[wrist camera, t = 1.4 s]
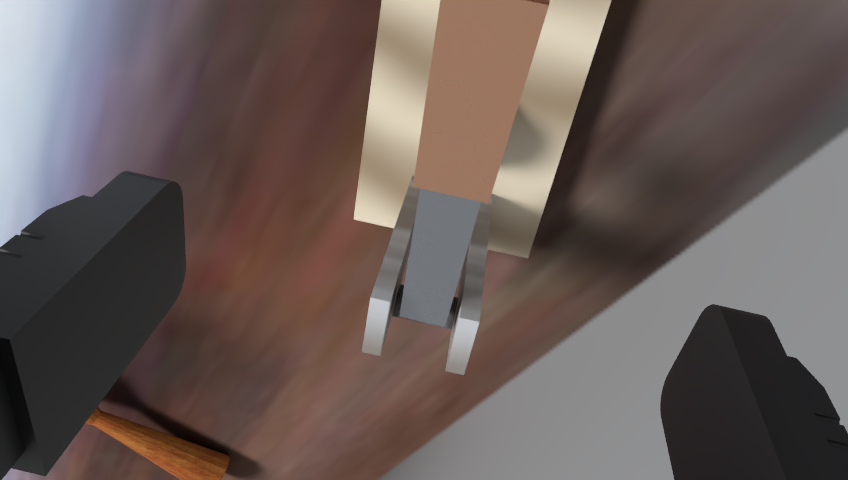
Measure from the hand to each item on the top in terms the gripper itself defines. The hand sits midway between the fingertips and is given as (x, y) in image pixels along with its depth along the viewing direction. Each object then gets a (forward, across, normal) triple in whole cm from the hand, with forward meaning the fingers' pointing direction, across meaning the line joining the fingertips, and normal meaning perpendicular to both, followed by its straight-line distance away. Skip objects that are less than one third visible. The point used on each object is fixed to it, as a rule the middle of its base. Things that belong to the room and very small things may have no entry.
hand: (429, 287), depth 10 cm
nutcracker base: (+24, 0, +4) cm, 24 cm away
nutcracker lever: (+14, 0, +4) cm, 15 cm away
